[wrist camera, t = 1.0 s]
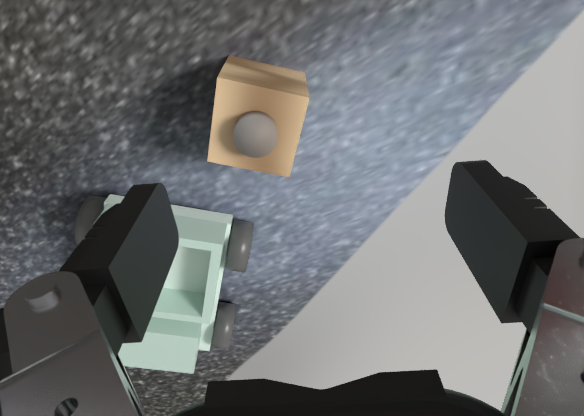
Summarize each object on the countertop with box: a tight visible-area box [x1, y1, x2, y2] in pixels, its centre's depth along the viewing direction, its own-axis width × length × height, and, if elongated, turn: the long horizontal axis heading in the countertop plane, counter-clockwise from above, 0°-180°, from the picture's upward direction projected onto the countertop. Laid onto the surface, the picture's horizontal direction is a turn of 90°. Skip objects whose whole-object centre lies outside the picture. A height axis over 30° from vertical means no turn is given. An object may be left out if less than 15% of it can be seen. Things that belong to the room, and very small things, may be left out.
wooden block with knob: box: [207, 55, 310, 177], centre depth 24 cm, size 5×5×6 cm
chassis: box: [75, 194, 254, 374], centre depth 32 cm, size 12×15×6 cm
